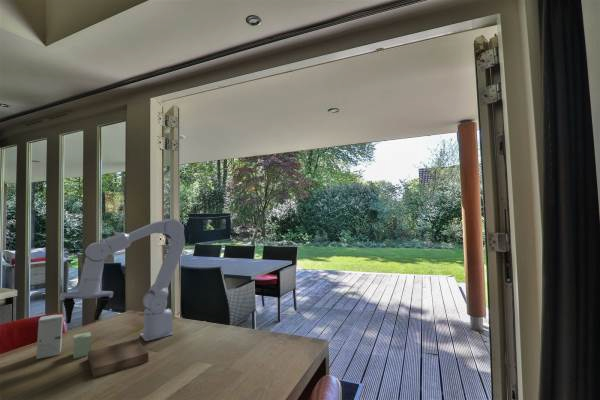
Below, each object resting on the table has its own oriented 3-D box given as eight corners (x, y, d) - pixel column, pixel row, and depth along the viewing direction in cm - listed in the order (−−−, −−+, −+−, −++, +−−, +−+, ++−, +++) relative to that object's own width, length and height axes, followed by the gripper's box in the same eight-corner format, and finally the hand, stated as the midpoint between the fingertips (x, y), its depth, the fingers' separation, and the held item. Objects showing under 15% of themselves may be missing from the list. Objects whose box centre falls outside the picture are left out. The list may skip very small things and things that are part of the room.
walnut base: (137, 346, 103) (137, 338, 103) (148, 361, 92) (148, 352, 92) (87, 359, 93) (88, 351, 94) (93, 377, 83) (93, 368, 83)
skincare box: (35, 359, 94) (37, 320, 94) (38, 354, 98) (39, 316, 98) (60, 354, 97) (61, 316, 98) (62, 349, 101) (63, 313, 102)
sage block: (89, 349, 101) (90, 331, 101) (91, 354, 97) (91, 335, 97) (72, 354, 98) (73, 335, 98) (73, 358, 94) (74, 339, 94)
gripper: (111, 276, 108) (103, 316, 106) (61, 277, 97) (52, 320, 95) (118, 280, 103) (110, 320, 101) (66, 280, 92) (56, 326, 90)
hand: (82, 321), depth 98 cm, fingers open, 7 cm apart
